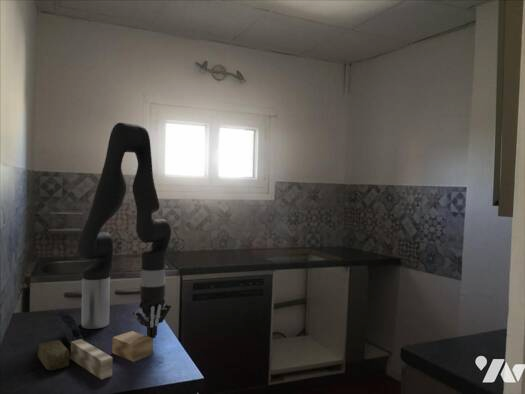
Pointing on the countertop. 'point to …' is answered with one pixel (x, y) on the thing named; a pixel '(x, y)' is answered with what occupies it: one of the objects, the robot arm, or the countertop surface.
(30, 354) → the countertop surface
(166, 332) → the countertop surface
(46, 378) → the countertop surface
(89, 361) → the board
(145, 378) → the countertop surface
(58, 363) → the stone block
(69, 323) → the stone
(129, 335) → the oak block
